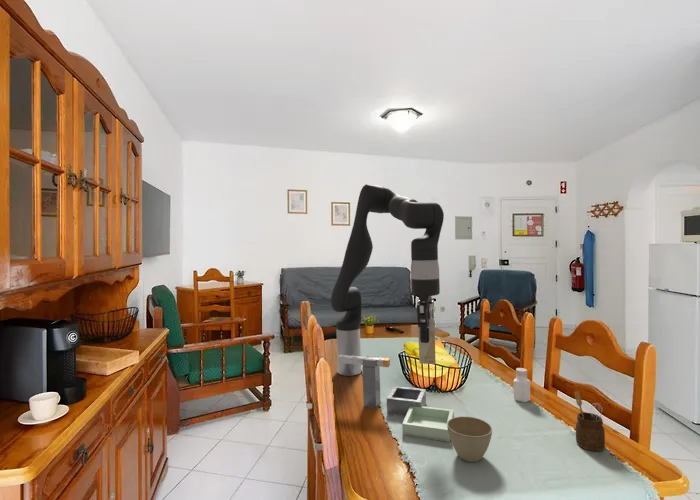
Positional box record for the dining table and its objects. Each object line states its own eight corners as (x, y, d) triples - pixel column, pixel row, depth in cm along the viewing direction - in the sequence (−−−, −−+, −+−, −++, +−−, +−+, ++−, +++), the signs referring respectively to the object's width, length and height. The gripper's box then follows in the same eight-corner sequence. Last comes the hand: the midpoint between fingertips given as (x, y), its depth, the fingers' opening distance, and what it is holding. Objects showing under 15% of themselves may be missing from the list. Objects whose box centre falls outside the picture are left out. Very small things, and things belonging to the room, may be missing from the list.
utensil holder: (594, 454, 87) (593, 403, 87) (569, 442, 93) (568, 393, 93) (611, 448, 90) (610, 398, 90) (585, 436, 96) (584, 389, 95)
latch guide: (368, 400, 121) (367, 355, 121) (380, 401, 120) (379, 356, 120) (363, 406, 117) (362, 359, 116) (376, 408, 115) (374, 361, 115)
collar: (394, 400, 121) (394, 386, 121) (426, 403, 118) (425, 389, 118) (387, 413, 112) (386, 398, 112) (420, 417, 108) (420, 402, 108)
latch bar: (340, 360, 123) (340, 354, 123) (390, 364, 117) (389, 358, 117) (337, 363, 121) (337, 356, 121) (388, 367, 115) (387, 360, 115)
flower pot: (487, 473, 82) (486, 440, 81) (442, 460, 87) (441, 429, 87) (496, 451, 90) (496, 421, 90) (454, 441, 95) (454, 412, 95)
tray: (411, 415, 110) (410, 404, 110) (453, 420, 106) (453, 409, 106) (402, 435, 99) (402, 423, 99) (449, 442, 95) (449, 430, 95)
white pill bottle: (530, 399, 119) (530, 369, 118) (526, 403, 116) (525, 372, 115) (517, 396, 121) (517, 366, 121) (513, 400, 118) (512, 369, 118)
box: (435, 364, 99) (434, 322, 99) (418, 364, 100) (417, 322, 100) (435, 358, 104) (434, 318, 104) (419, 358, 105) (418, 318, 105)
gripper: (435, 279, 94) (437, 347, 94) (442, 274, 107) (443, 334, 108) (405, 279, 96) (407, 345, 97) (415, 274, 110) (417, 332, 110)
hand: (426, 339), depth 102 cm, fingers closed on box, 5 cm apart
